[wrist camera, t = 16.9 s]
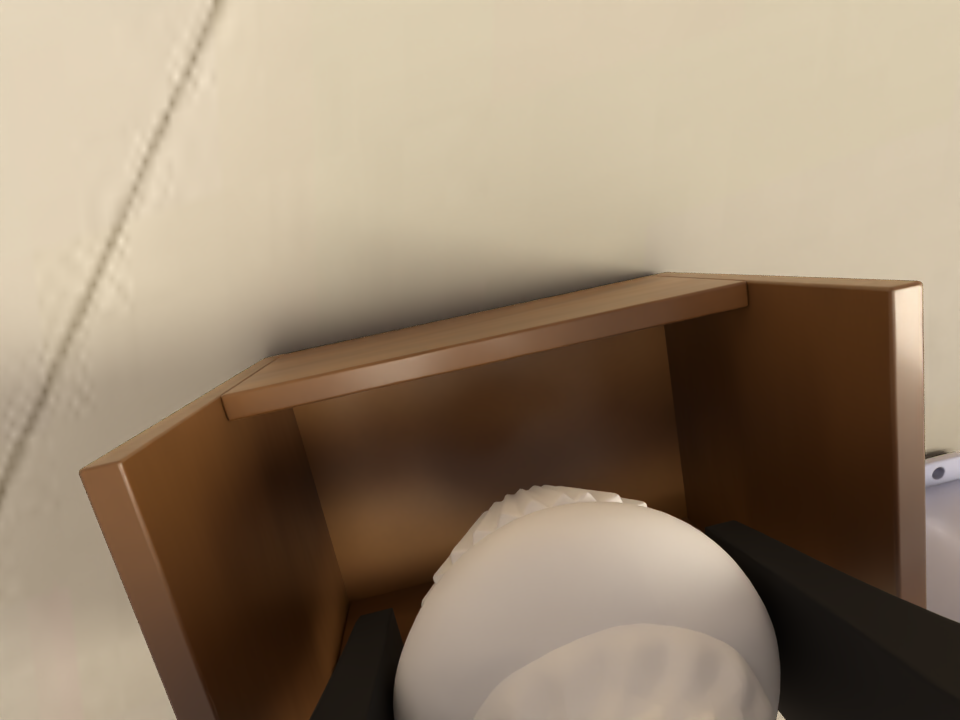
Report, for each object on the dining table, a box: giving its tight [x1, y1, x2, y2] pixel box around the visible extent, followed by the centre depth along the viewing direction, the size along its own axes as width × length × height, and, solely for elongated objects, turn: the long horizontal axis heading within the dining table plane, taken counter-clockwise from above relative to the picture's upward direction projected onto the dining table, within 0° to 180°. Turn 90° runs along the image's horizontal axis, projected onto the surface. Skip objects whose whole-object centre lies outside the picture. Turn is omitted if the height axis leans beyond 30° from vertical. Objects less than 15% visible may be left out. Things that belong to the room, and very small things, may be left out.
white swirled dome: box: [393, 485, 781, 720], centre depth 8 cm, size 6×6×7 cm
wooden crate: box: [79, 272, 927, 720], centre depth 12 cm, size 9×13×8 cm
